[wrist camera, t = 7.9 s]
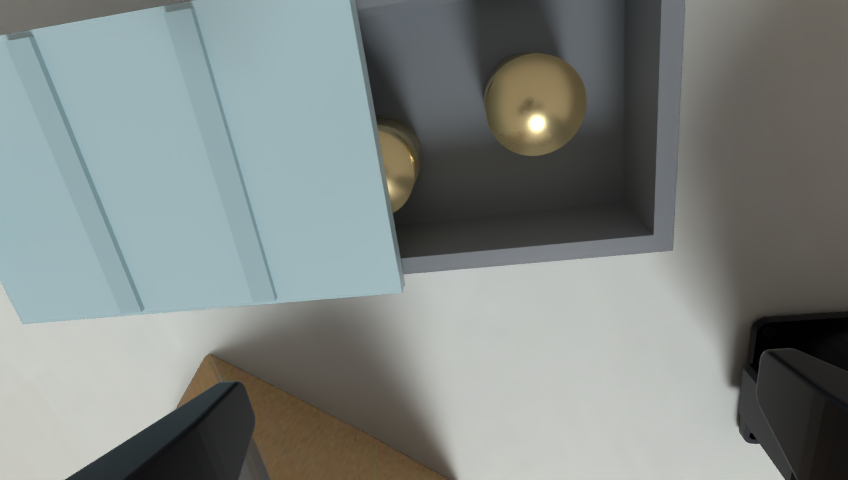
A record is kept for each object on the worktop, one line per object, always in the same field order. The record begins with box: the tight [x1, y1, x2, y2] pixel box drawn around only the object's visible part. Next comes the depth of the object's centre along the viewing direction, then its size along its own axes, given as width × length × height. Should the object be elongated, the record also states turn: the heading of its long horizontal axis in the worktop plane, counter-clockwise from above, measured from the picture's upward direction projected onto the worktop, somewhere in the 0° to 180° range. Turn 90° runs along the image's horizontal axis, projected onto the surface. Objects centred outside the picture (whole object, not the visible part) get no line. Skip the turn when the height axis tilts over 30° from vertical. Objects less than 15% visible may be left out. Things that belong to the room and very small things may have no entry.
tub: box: [355, 0, 685, 274], centre depth 17 cm, size 14×9×4 cm, turn 98°
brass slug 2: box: [484, 52, 587, 156], centre depth 16 cm, size 3×3×3 cm
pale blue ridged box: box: [0, 0, 405, 324], centre depth 14 cm, size 16×9×5 cm, turn 98°
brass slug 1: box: [376, 116, 423, 213], centre depth 17 cm, size 3×3×3 cm
